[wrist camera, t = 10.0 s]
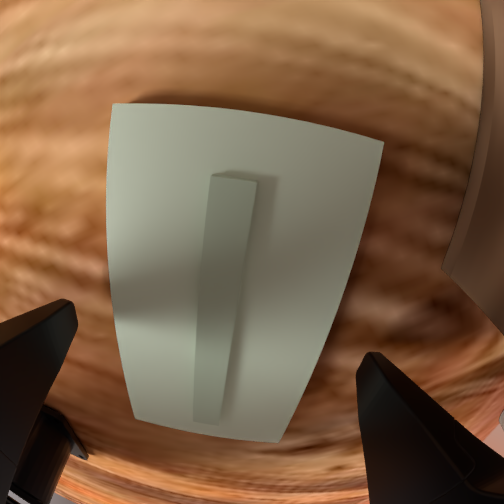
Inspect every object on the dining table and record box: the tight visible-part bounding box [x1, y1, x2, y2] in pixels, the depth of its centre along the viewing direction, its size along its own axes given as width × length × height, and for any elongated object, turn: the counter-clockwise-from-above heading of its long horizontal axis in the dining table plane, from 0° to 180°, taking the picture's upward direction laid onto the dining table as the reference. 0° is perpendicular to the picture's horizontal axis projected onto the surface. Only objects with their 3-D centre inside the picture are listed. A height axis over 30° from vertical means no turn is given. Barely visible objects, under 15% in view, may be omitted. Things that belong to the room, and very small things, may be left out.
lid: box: [106, 103, 384, 443], centre depth 8 cm, size 12×6×2 cm, turn 172°
